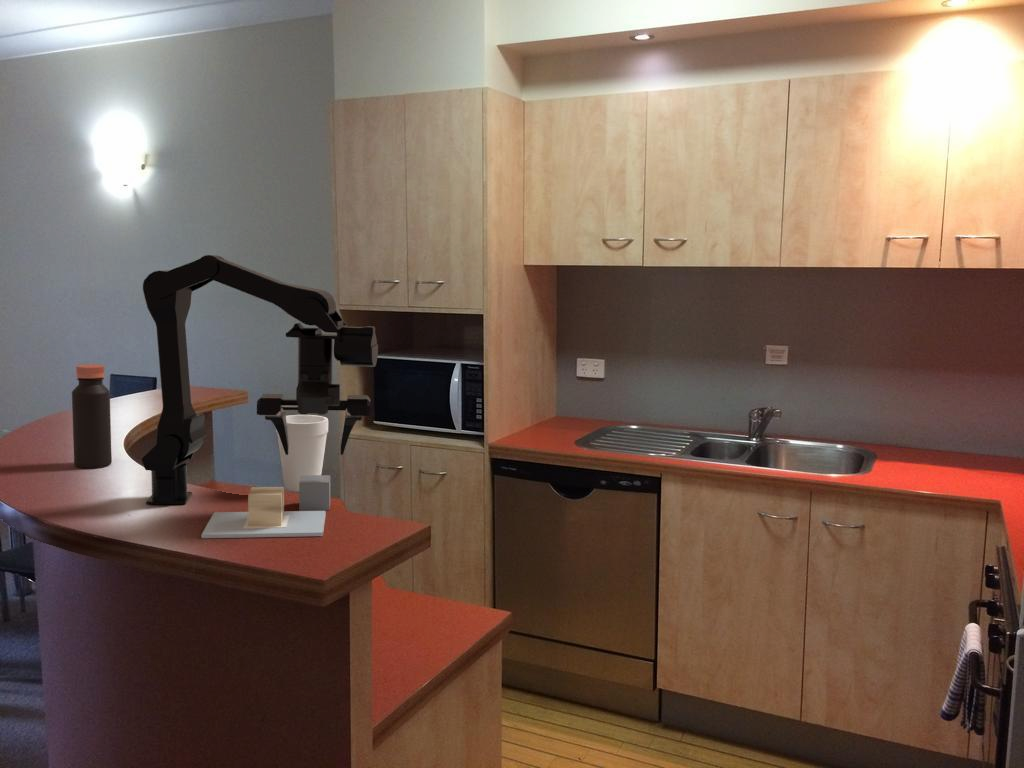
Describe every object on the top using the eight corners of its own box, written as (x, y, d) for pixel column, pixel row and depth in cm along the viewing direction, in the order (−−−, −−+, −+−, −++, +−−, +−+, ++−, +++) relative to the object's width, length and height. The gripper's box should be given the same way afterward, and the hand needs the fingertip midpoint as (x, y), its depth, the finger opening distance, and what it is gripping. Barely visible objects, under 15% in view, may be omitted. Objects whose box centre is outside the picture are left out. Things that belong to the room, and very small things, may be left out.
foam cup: (337, 488, 166) (338, 420, 164) (295, 496, 159) (296, 425, 157) (307, 478, 172) (308, 413, 170) (266, 486, 165) (266, 418, 163)
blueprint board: (214, 515, 146) (214, 511, 146) (325, 514, 149) (325, 510, 149) (201, 538, 134) (201, 533, 134) (322, 536, 137) (322, 531, 137)
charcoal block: (301, 503, 155) (301, 475, 155) (330, 502, 156) (330, 475, 156) (299, 511, 151) (299, 482, 150) (329, 510, 151) (329, 482, 151)
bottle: (97, 470, 173) (94, 368, 170) (66, 467, 174) (63, 366, 172) (118, 462, 180) (116, 365, 177) (89, 460, 181) (86, 363, 178)
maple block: (252, 517, 143) (252, 487, 143) (283, 516, 144) (283, 486, 144) (248, 526, 139) (248, 495, 138) (281, 525, 139) (281, 494, 139)
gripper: (252, 369, 141) (252, 465, 143) (371, 371, 144) (369, 465, 146) (260, 361, 151) (260, 450, 154) (370, 363, 155) (369, 450, 157)
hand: (314, 454), depth 152 cm, fingers open, 9 cm apart
